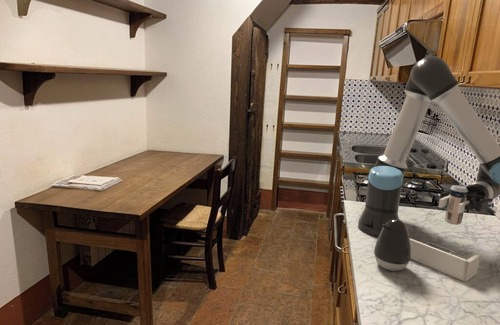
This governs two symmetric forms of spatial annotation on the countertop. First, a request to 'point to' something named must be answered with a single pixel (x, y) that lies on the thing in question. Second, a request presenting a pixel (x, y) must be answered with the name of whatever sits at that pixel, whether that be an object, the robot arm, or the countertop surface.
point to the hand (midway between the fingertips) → (449, 206)
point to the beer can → (455, 204)
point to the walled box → (444, 260)
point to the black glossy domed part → (393, 246)
